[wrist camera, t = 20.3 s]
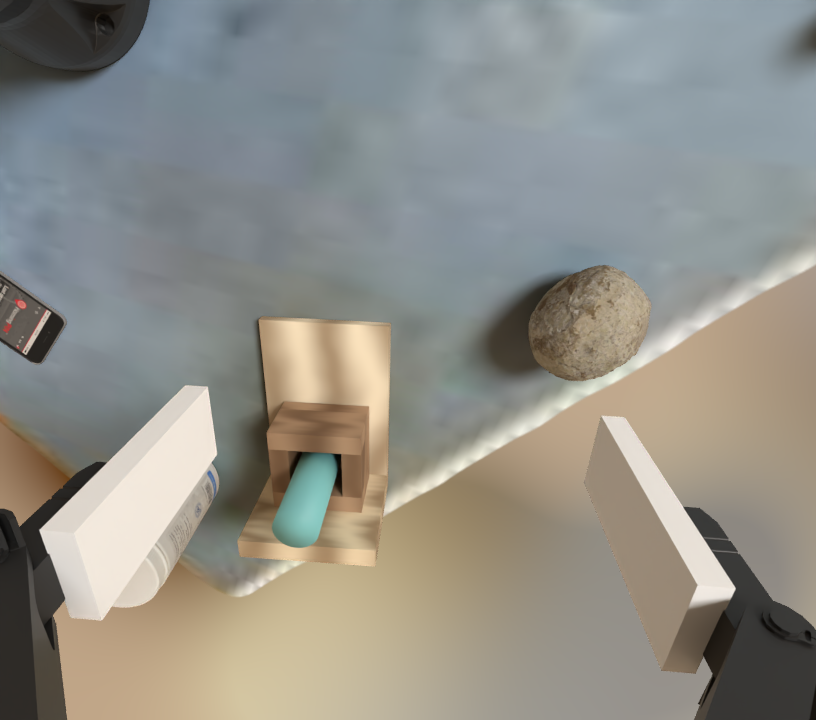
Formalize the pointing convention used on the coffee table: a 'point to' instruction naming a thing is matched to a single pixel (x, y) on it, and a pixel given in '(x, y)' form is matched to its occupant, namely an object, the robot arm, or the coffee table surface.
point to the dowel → (306, 499)
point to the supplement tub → (170, 543)
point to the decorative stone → (589, 323)
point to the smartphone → (27, 321)
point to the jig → (327, 384)
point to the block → (322, 448)
